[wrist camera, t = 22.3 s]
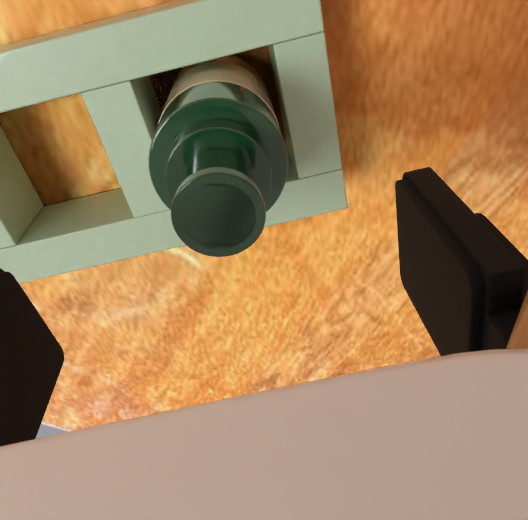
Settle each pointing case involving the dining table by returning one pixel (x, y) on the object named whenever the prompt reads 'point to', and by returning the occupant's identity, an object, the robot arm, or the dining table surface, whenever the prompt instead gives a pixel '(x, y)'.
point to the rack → (147, 118)
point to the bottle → (218, 156)
